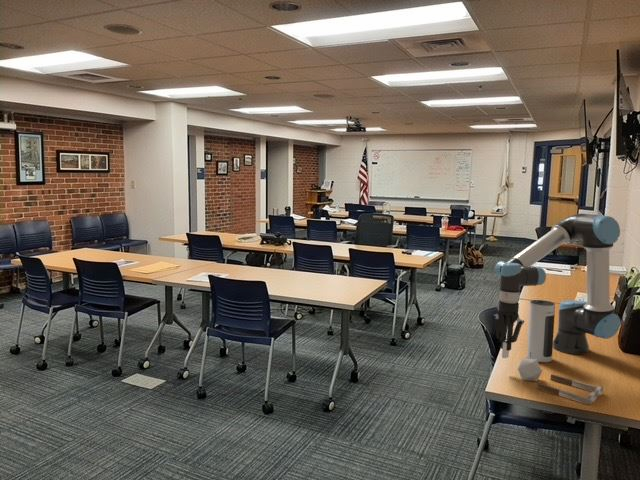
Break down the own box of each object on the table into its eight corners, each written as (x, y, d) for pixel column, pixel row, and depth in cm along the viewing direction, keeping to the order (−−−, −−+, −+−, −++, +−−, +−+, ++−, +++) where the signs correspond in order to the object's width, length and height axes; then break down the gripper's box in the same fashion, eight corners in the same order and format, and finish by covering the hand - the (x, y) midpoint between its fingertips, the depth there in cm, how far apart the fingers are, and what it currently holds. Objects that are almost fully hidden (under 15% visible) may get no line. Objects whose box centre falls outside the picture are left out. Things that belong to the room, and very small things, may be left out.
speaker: (536, 363, 212) (540, 305, 209) (520, 355, 222) (524, 299, 219) (557, 361, 215) (561, 303, 212) (540, 353, 225) (544, 298, 222)
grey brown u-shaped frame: (551, 378, 196) (552, 371, 195) (602, 393, 182) (603, 385, 182) (536, 388, 186) (537, 381, 186) (589, 405, 173) (590, 397, 172)
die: (540, 378, 198) (526, 355, 201) (550, 375, 190) (536, 351, 193) (523, 387, 196) (509, 364, 200) (532, 384, 188) (518, 360, 191)
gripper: (489, 299, 201) (486, 355, 203) (520, 305, 191) (516, 363, 194) (498, 296, 206) (494, 351, 209) (528, 302, 197) (524, 359, 199)
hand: (505, 357), depth 201 cm, fingers closed
